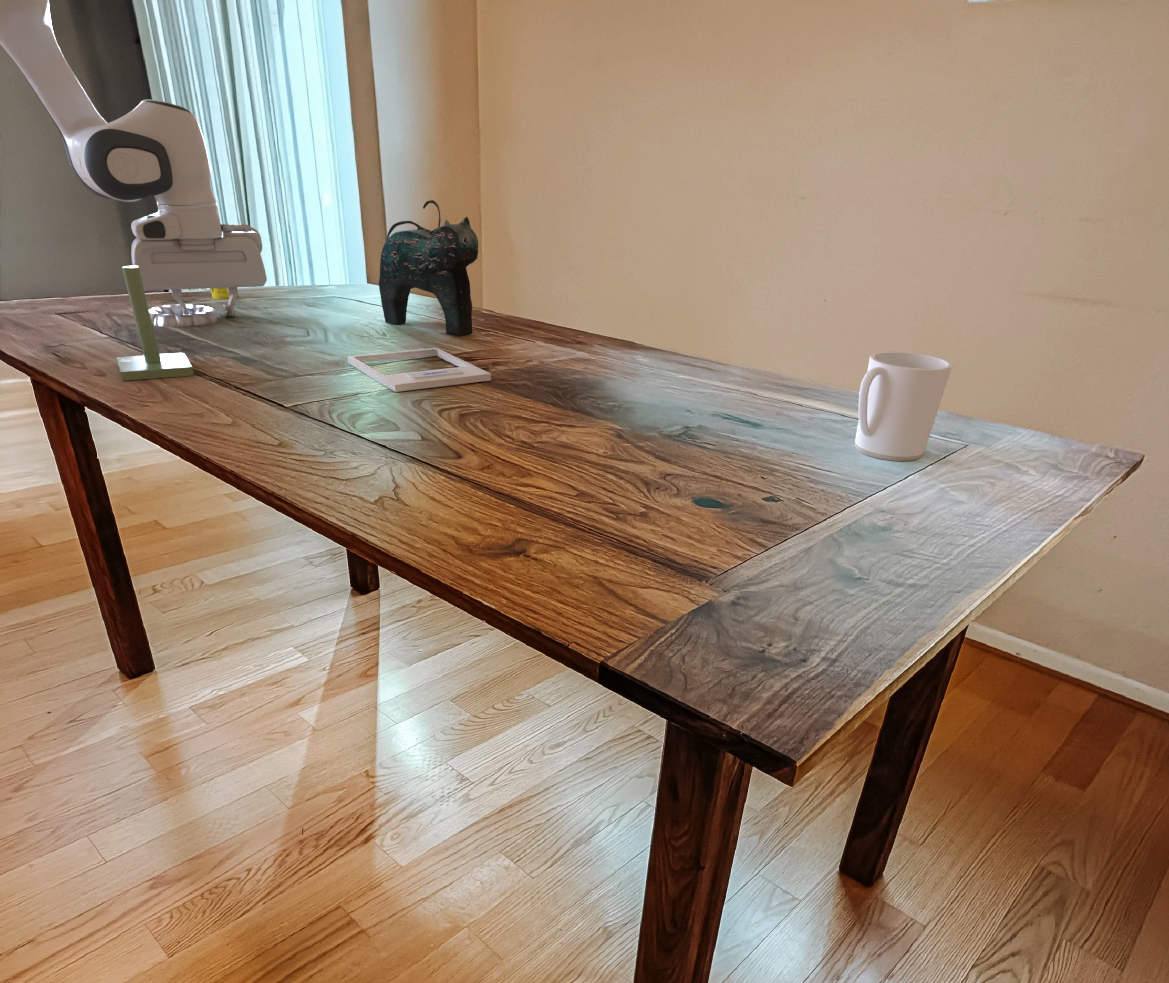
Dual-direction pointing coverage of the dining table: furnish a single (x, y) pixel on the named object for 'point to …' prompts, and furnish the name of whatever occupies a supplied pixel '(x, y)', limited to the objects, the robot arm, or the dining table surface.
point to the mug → (899, 404)
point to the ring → (183, 316)
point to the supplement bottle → (220, 293)
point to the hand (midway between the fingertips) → (210, 317)
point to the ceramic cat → (429, 271)
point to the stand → (148, 340)
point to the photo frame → (421, 378)
